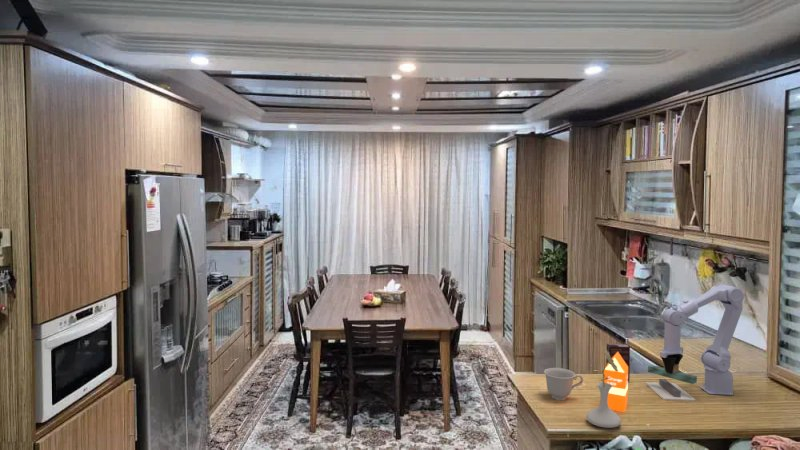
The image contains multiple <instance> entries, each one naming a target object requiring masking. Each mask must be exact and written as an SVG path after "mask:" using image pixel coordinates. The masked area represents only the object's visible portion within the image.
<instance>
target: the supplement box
mask: <svg viewBox="0 0 800 450" xmlns="http://www.w3.org/2000/svg"><path fill="white" fill-rule="evenodd" d="M630 350H631V346H630V345H628V344H627V343H606V351H607V353H609V354H610V357H611V359H612V358H613V356H614V355H615V354H616V353H617V352H619V354H620V356H621V357H622V359H623V360H624V362H625V363H626V365H627V366H628V384H629V383H630V377H631V376H630V374H631V373H630V372H631V369H630V365H631V364H630V363H631V360H630V358H631V356H630V354H631V351H630ZM605 358H606V357H605ZM605 360H606V364H607V362H608V359H607V358H606V359H605ZM606 364H605V365H606Z"/></svg>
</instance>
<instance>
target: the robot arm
mask: <svg viewBox="0 0 800 450" xmlns="http://www.w3.org/2000/svg"><path fill="white" fill-rule="evenodd" d="M745 296H746V295H745V294H744V292H743V290H742V289H741V288H740V287H737V286H731V285H727V284H724V283H717V284H715V285H714V286H711V287H710V289H709V290H708V291H706V292H704V293H702V295H699V296H698V297H696V298H695V299H693V300H690V299H688V300H687V299H685V300H683V302H682V303H680V304H677V306H676V305H675V306H673V308H667V309H665V310H664V311H663V312H662V314H661V320H662V321H663V325H664V333H663V334H664V336H663V338H664V339H663V340H664V341H663V349H662V351H660V353H659V355H660V358H661V360H662V362H663V365H664V368H665V370H666V373H670V374H672V372H673V366H674V363H675V364H679V365H680V362H681V360H682V359H683V357H684V355H683V354H684V347H683V346H682V347H681V330H682V329H681V328H682V327H681V326H682V325H683V324H684V323H685V320H686V319H688V318H690V317H691V316H693V315H695V314H697V313H698V312H699V309H700V308H701V307H704V306H706V305H708V304H709V303H713V302H715V301H719V302H720V303H721V304H722V305H723V308H724V312H723V315H722V317H721V319H720V323H719V326H718V329H717V331H716V335H714V339H713V342H712V344H710V345H709V346H707V347H706V348H705V351H703V353H702V354H701V357H700V361H701V362H702V364H703V367H704V385H699V388H700V389H702V390H703V391H705V393H707V394H709V395H731V396H734V395H735V394H734V393H733V392H734V391H733V389H734V377H733V374H732V372H731V371H730V370H729V369H730V368H731V359H732V355H731V353H730V352H729V347H730V345H731V342H732V339H733V336H734V333H735V331H736V328H737V326H738V323H739V320H740V318H741V314H742V311H743V308H744V306H743V303H744V298H745Z"/></svg>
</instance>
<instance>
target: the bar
mask: <svg viewBox="0 0 800 450" xmlns="http://www.w3.org/2000/svg"><path fill="white" fill-rule="evenodd" d="M679 367H680V363H679V364H675V363H674V366H673V372H672V374H670V373H666V370H665V367H661V366H659V365H654V364H651V365H648V366H647V372H648V373H651V374H654V375H658V376H662V377H666V378H668V379H673V380H675V381H680V382H684V383H688V384H689V385H694V384H697V382H698V376H697V375H693V374H689V373H686V372H681V371H679V370H680V369H679Z"/></svg>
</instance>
